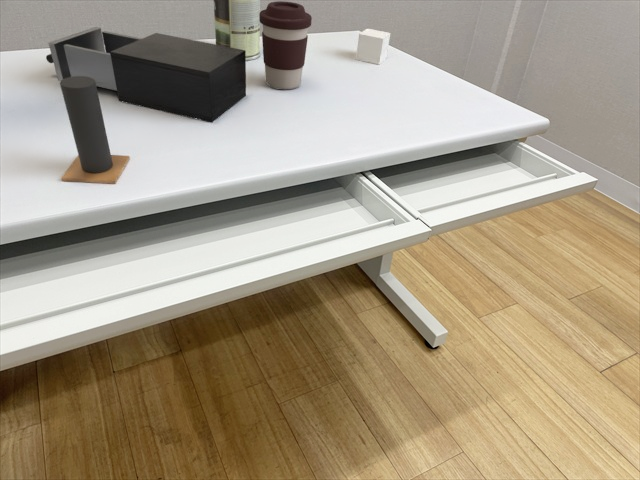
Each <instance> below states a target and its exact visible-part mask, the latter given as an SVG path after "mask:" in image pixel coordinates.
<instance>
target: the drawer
mask: <svg viewBox="0 0 640 480" xmlns="http://www.w3.org/2000/svg"><path fill="white" fill-rule="evenodd" d="M142 38H143V37H137V36H132V35H127V34H122V33H117V32H112V31H107V30H103V31H102V27H98V26H93V27H91V28H88V29H85V30H82V31H79V32H76V33H73V34H70V35H67V36H64V37H61V38H59V39H55V40H52V41H49V42H48V46H49V51H50V53H49V54H47V55H46V56H45V59H46V62H47V63H49V64H53V66H54V70H55V73H56V77H57V81H58V82H61V81H62V80H63V79H65V78H69V77H74V76H85V77H90V78H93V79H94V80H95V82H96V87H98V88H103V89H108V90H111V91H116V92H117V88H116V82H115V77H114V72H113V66H112V61H111V56H110V52H111V51H113V50H116V49H118V48H120V47H123V46H125V45H128V44H130V43H133V42H135V41H138V40H140V39H142Z"/></svg>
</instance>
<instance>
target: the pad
mask: <svg viewBox="0 0 640 480" xmlns="http://www.w3.org/2000/svg"><path fill="white" fill-rule="evenodd" d="M111 158H112V163H113V166H112V168H111V169H109V170H108V171H105V172H102V173H87V172H85V171H84V170H83V169H82V167H81V163H80V159H79V155H78V154H77V157H76V158H75V159H74V160H73V162H72V163H71V164H70V165H69V166H68V168H67V170H66V171H65V172H64V174H63V175H62V176H61V177H60V179H61V181H62V182H74V183H75V182H76V183H92V184H110V185H116V183H117V182H118V180H119V178H120V176H121V175H122V173H123V172H124V170H125V169H126V167H127V165H128V163H129V161H130V160H131V159H130V158H131V157H130V155H124V154H123V155H121V154H120V155H119V154H111Z"/></svg>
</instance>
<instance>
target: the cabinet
mask: <svg viewBox="0 0 640 480" xmlns="http://www.w3.org/2000/svg"><path fill="white" fill-rule="evenodd" d="M141 38H142V39H140V40H138V41H135V42H133V43H130V44H128V45H125V46H123V47H120V48H118V49H116V50H113V51H111V52H110V56H111V61H112V66H113V72H114V77H115V82H116V88H117V91H116V92H117V99H118V101H119V102H122V101H123V102H122V103H126V102H127V104H130V103H131V105H135V106H139V105H140V106H139V107H143V106H144V108H148V109H152V108H153V109H152V110H156V109H157V111H160V110H162V111H161V112H165V111H166V112H165V113H169V112H170V114H173V113H174V115H178V116H182V115H183V116H182V117H186V116H187V117H186V118H191V117H192V118H191V119H195V118H197V119H196V120H199V119H201V120H200V121H204V122H208V123H213V122H215V121H216V120H217V119H219V118H220V117H221V116H223V115H224V114H225V113H226V112H228V111H229V110H230V109H231V108H233V107H234V106H235V105H236V104H238V103H239V102H241V101H242V100H243V99H244V98H246V97H247V67H246V66H247V63H246V62H247V61H246V55H245V54H246V51H245V50H241V49H236V48H231V47H226V46H221V45H216V43H215V44H214V43H209V42H204V41H201V40H196V39H190V38H185V37H179V36H174V35H170V34H164V33H158V32H155V33H152V34H150V35H148V36H145V37H141ZM218 117H219V118H218Z"/></svg>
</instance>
